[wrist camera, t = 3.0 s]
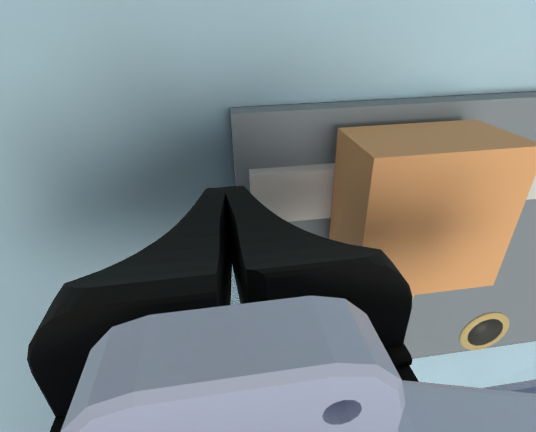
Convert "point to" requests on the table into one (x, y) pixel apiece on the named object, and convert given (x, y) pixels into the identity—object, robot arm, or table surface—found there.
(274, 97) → the table surface
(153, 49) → the table surface
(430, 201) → the leg
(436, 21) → the table surface
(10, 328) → the table surface
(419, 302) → the plate
